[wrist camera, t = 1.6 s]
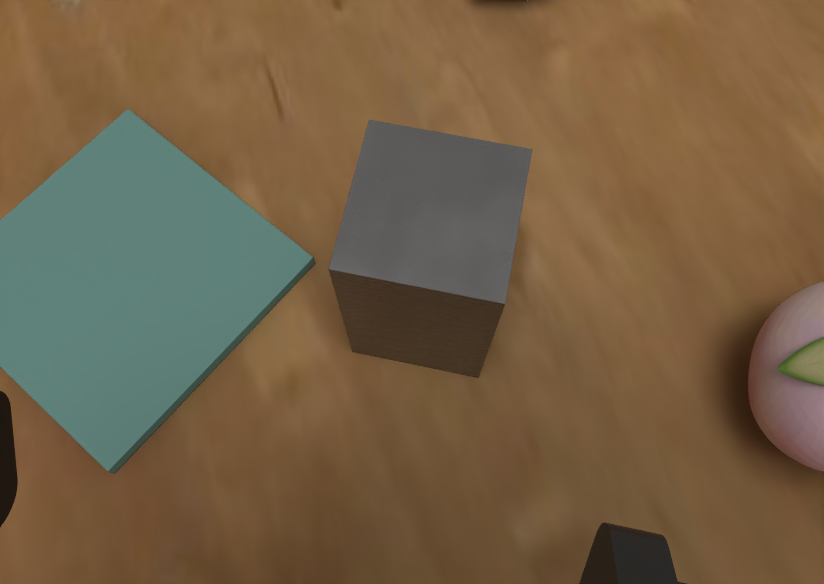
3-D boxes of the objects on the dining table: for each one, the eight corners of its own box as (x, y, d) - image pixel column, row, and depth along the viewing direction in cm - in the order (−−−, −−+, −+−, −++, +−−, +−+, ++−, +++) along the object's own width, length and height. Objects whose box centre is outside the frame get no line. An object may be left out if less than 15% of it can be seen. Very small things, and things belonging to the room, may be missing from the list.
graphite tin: (380, 237, 38) (369, 119, 28) (499, 260, 38) (532, 149, 28) (352, 351, 36) (328, 269, 26) (478, 377, 36) (504, 303, 26)
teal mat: (133, 117, 41) (128, 108, 40) (315, 263, 38) (313, 257, 37) (-69, 294, 37) (-79, 289, 37) (114, 473, 34) (107, 471, 33)
